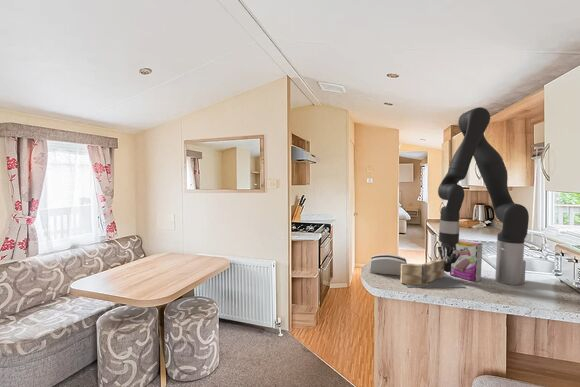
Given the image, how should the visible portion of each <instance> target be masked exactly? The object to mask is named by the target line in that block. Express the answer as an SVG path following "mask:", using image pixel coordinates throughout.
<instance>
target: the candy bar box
mask: <svg viewBox="0 0 580 387" xmlns="http://www.w3.org/2000/svg"><path fill="white" fill-rule="evenodd" d="M456 252H457V253H459V254H460V256H459V258H458V259H457V261H456V262H455V263H452V264H451V272H449V276H451V277H457V278H459V279H464V280H467V281H470V282H474V283H477V282H480V281H481V279H482V262H483V258H482V257H483V242H479V241H474V240H473V241H472V240H468V239H464V238H459V243H457V244H456Z"/></svg>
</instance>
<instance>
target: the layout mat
mask: <svg viewBox="0 0 580 387" xmlns="http://www.w3.org/2000/svg"><path fill="white" fill-rule="evenodd" d="M396 277H398V279H399V280H400V281H401V275H396ZM403 284H404V285H405V286H406V287H407V288H426V289H427V288H430V289H431V288H432V289H434V288H435V289H436V288H439V289H440V288H441V289H443V288H444V289H447V288H448V289H449V288H450V289H466V288H467V287H466V286H465V285H464V284H462V283H460V282H459V281H457V280H456V279H454V277H453V276H451V275H450V274H448V273H447V272H446V271H444V277H441V278H439V279H436V280H433V281H431V282H428V283H427V282H426V284H422V283H403Z"/></svg>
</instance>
